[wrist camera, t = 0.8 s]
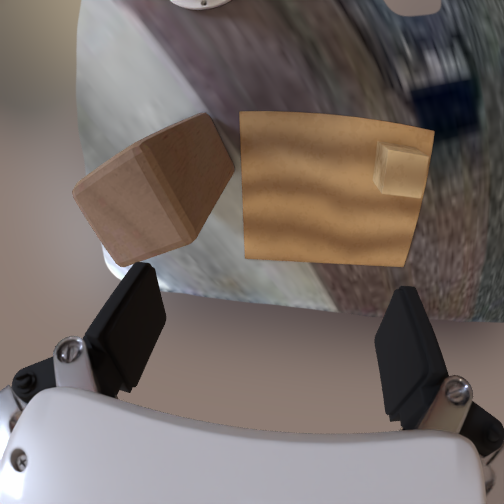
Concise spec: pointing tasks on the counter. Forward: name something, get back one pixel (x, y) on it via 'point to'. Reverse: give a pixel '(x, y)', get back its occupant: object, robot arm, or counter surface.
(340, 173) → the wooden board
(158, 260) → the counter surface
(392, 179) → the oak cube
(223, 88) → the counter surface
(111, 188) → the block
